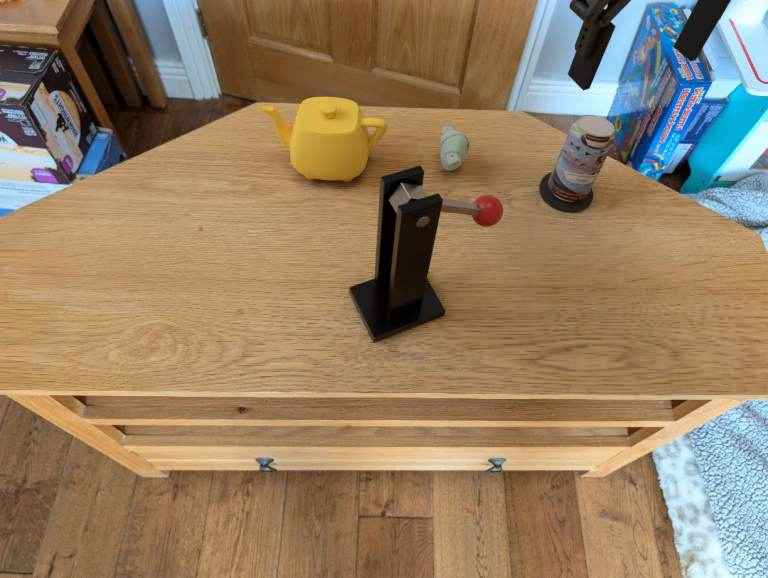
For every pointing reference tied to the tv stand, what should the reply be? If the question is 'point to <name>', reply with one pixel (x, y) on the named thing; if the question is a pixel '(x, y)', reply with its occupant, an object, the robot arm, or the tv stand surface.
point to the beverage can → (581, 158)
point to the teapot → (328, 137)
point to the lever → (454, 204)
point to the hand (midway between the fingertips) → (632, 67)
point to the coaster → (559, 203)
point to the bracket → (401, 262)
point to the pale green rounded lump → (453, 147)
